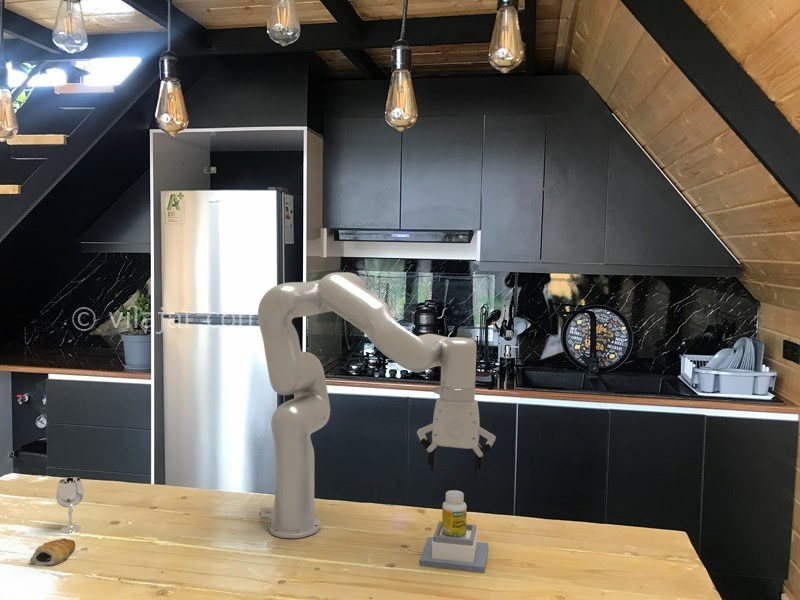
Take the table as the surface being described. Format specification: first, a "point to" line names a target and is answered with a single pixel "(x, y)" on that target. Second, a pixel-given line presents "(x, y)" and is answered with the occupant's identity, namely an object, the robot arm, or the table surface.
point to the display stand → (455, 551)
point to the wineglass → (70, 499)
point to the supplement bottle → (454, 515)
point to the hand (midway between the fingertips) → (454, 470)
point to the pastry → (53, 552)
